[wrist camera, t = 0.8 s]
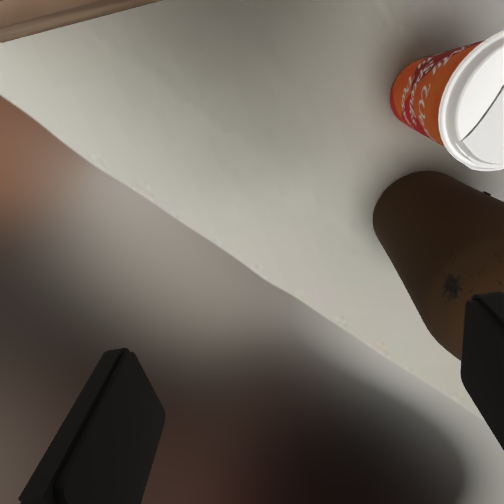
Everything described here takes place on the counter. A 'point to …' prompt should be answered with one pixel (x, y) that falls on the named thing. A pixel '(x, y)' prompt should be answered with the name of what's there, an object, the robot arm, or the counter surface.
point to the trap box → (54, 14)
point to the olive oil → (442, 247)
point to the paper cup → (458, 101)
